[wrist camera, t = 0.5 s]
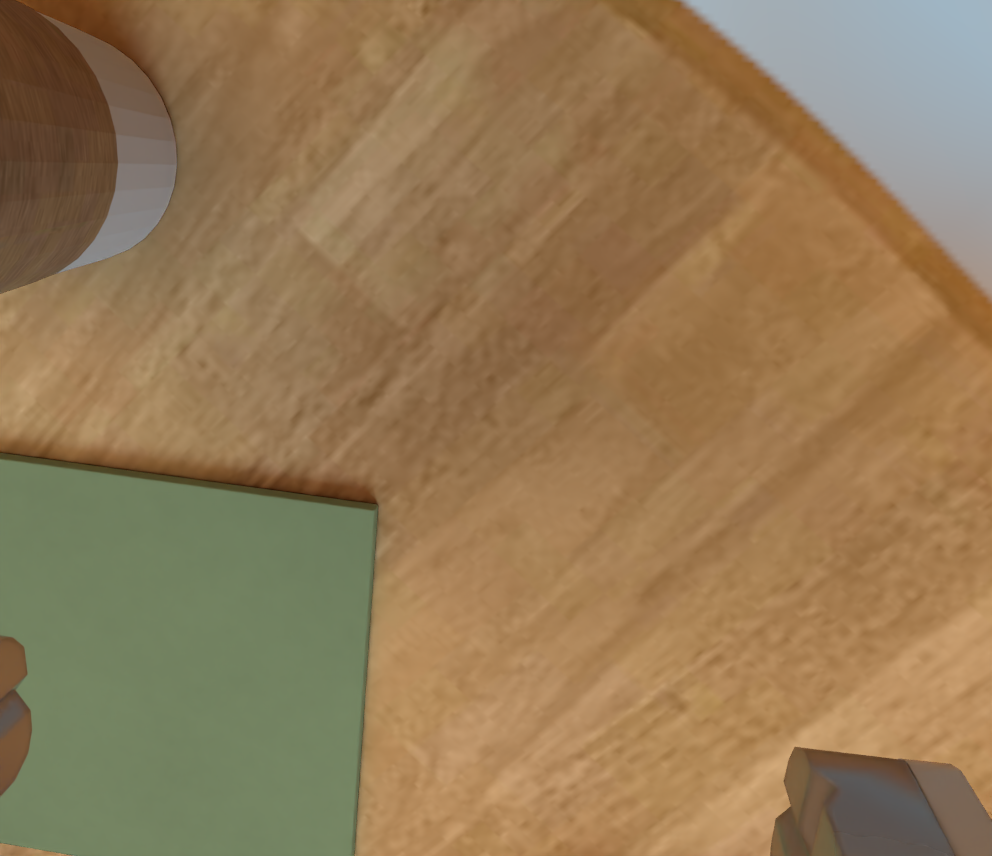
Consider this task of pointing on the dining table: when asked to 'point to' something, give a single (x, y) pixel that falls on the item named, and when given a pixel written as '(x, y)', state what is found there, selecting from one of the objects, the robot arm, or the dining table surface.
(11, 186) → the coffee cup
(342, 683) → the mat
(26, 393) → the dining table surface
